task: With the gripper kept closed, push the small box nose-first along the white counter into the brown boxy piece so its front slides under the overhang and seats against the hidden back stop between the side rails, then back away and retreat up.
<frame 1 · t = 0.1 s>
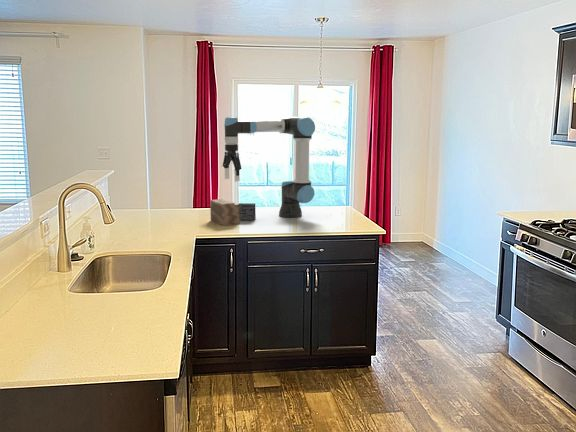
hand: (232, 180, 344), 28 cm above the worktop, fingers open, 13 cm apart
small box: (246, 220, 370), on the worktop
brown boxy piece: (224, 222, 361), on the worktop
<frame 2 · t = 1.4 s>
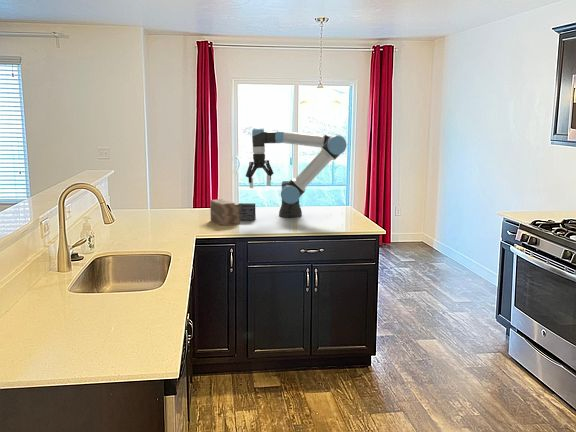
hand: (260, 186, 369), 21 cm above the worktop, fingers open, 13 cm apart
nothing on the worktop moved.
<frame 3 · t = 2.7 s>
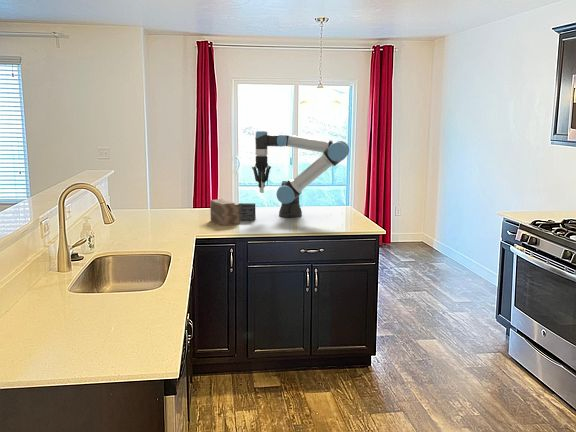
hand: (261, 192, 372), 17 cm above the worktop, fingers closed
nothing on the worktop moved.
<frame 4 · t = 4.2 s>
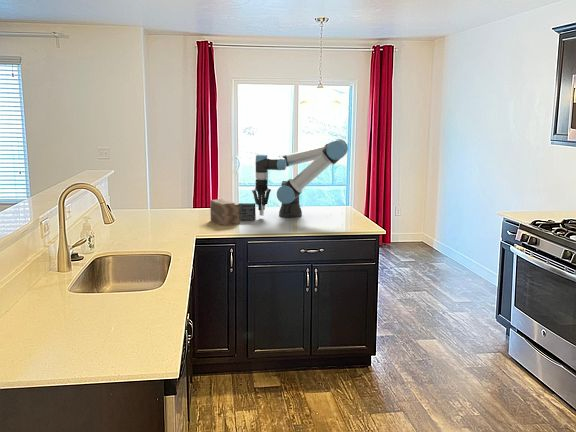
hand: (261, 215, 375), 2 cm above the worktop, fingers closed
nothing on the worktop moved.
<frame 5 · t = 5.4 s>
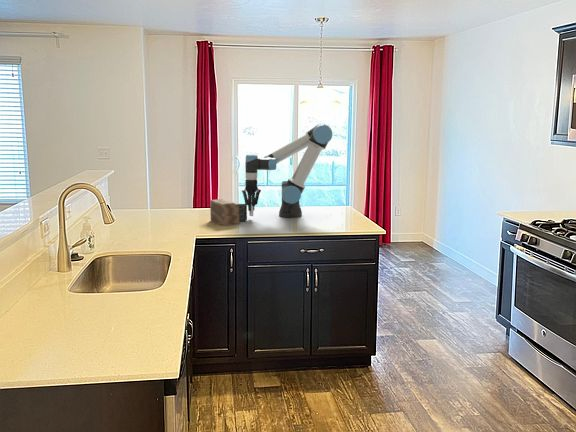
hand: (251, 215, 371), 2 cm above the worktop, fingers closed
small box: (238, 220, 367), on the worktop, touching hand
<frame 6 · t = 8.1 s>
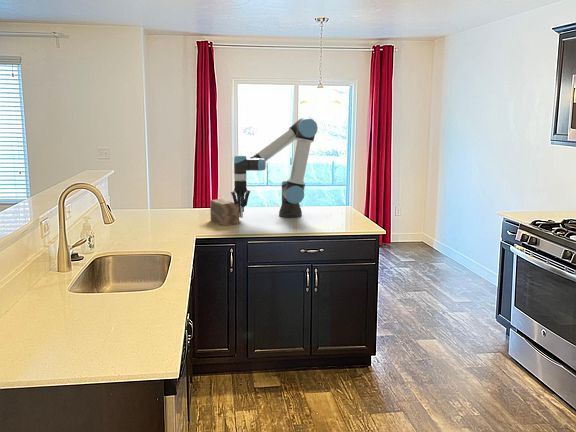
hand: (240, 217, 367), 2 cm above the worktop, fingers closed
small box: (226, 221, 364), resting in brown boxy piece, touching hand
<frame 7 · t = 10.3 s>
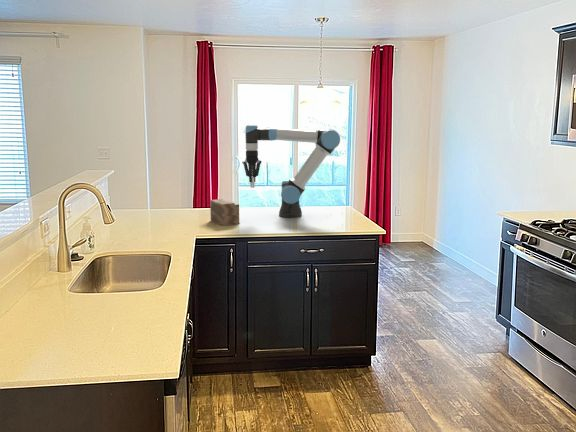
hand: (252, 187, 369), 21 cm above the worktop, fingers closed
small box: (226, 221, 364), resting in brown boxy piece
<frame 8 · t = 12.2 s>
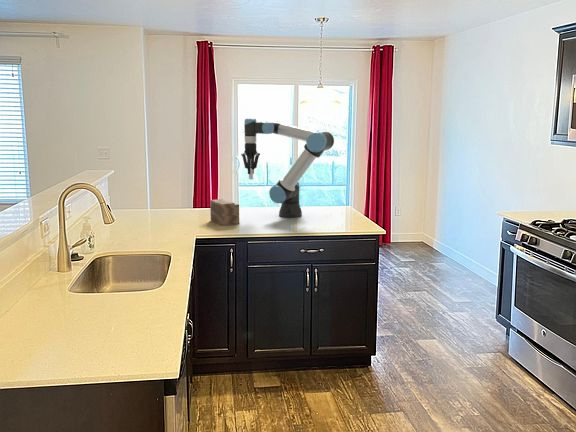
hand: (250, 179, 379), 24 cm above the worktop, fingers closed
nothing on the worktop moved.
at the end: small box inside the target area on the brown boxy piece (1.7 cm from its centre), point 0.0 cm above the brown boxy piece's base; small box tilted 0°; small box moved 13.4 cm from its start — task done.
